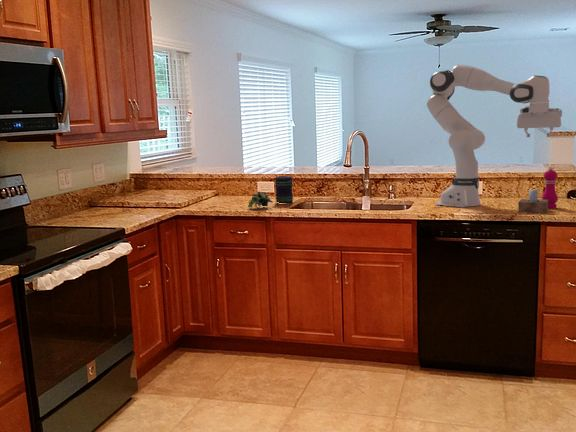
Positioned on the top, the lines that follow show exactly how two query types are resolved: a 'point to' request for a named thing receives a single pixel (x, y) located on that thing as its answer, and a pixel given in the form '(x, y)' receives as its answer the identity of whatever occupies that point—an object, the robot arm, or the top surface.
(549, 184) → the pepper mill
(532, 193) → the peg
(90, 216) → the top surface
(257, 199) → the potted plant
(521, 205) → the socket block
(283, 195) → the storage jar
